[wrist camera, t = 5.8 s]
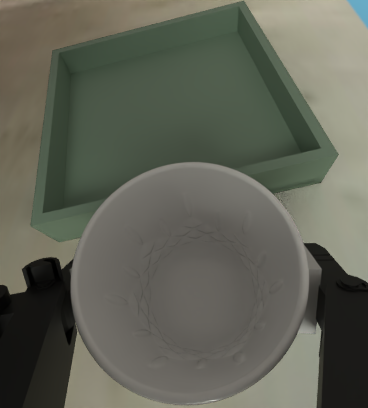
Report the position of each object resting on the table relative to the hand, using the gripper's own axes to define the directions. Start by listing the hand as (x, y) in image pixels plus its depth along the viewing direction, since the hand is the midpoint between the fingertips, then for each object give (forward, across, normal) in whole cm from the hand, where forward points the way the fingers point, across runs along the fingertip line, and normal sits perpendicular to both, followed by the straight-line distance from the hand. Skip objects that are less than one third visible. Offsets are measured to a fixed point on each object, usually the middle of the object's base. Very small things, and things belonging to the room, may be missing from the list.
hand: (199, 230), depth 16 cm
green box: (+12, -4, +7) cm, 14 cm away
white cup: (0, 0, -5) cm, 5 cm away
